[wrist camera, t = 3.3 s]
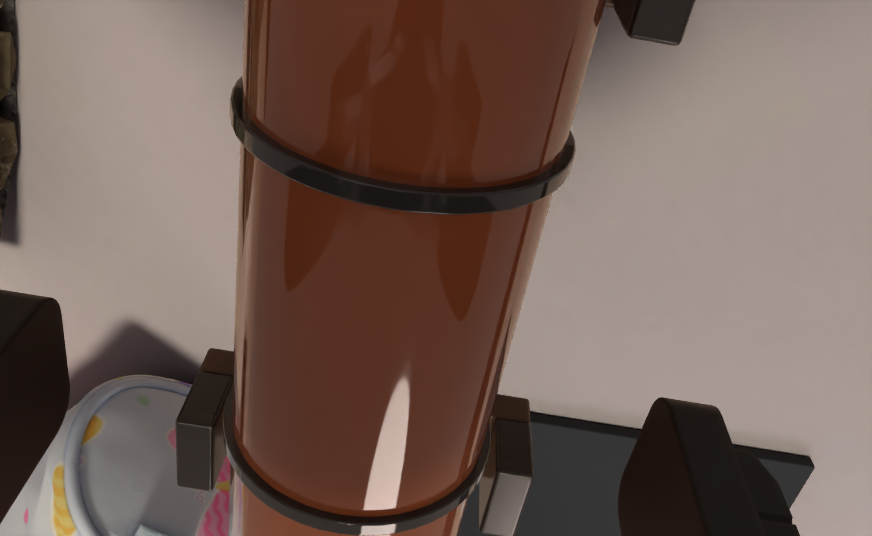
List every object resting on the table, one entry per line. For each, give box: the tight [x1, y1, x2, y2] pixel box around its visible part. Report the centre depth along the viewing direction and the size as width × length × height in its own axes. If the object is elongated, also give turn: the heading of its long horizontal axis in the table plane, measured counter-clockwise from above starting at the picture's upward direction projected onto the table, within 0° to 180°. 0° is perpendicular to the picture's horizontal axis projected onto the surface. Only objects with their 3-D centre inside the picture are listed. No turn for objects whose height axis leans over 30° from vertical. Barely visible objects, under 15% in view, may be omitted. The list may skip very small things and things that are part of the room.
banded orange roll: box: [223, 0, 606, 536], centre depth 13 cm, size 5×16×5 cm, turn 171°
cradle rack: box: [175, 0, 695, 536], centre depth 19 cm, size 7×14×14 cm, turn 171°
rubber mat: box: [458, 413, 814, 536], centre depth 36 cm, size 18×10×1 cm, turn 81°
